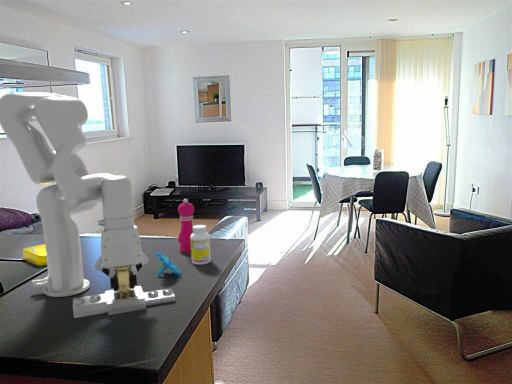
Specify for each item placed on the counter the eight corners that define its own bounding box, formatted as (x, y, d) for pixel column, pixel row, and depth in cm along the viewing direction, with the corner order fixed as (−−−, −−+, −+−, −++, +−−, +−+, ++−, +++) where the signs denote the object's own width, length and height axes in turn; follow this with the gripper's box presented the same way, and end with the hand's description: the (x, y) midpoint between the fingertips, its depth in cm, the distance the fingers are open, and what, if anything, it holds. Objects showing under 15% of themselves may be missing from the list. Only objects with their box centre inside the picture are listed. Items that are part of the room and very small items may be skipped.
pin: (116, 304, 120) (113, 268, 118) (115, 298, 124) (112, 263, 122) (135, 301, 121) (132, 265, 120) (133, 295, 126) (130, 260, 124)
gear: (184, 275, 142) (160, 255, 139) (171, 289, 141) (147, 270, 138) (179, 264, 152) (157, 246, 149) (167, 278, 152) (144, 259, 148)
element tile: (21, 260, 166) (20, 247, 166) (61, 250, 177) (60, 238, 177) (39, 268, 157) (38, 255, 156) (80, 257, 168) (79, 245, 167)
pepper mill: (199, 251, 170) (197, 199, 167) (180, 254, 167) (177, 201, 164) (195, 246, 177) (192, 196, 173) (176, 249, 174) (173, 197, 171)
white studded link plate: (73, 321, 114) (72, 307, 113) (74, 306, 123) (73, 293, 122) (176, 303, 123) (175, 290, 122) (170, 291, 132) (169, 279, 131)
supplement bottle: (194, 258, 161) (193, 223, 159) (212, 259, 160) (211, 224, 158) (189, 265, 155) (187, 228, 153) (208, 265, 154) (206, 228, 152)
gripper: (85, 229, 113) (91, 299, 116) (153, 222, 119) (157, 288, 122) (84, 223, 120) (90, 289, 123) (149, 216, 125) (153, 279, 129)
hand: (124, 288), depth 122 cm, fingers closed on pin, 4 cm apart
